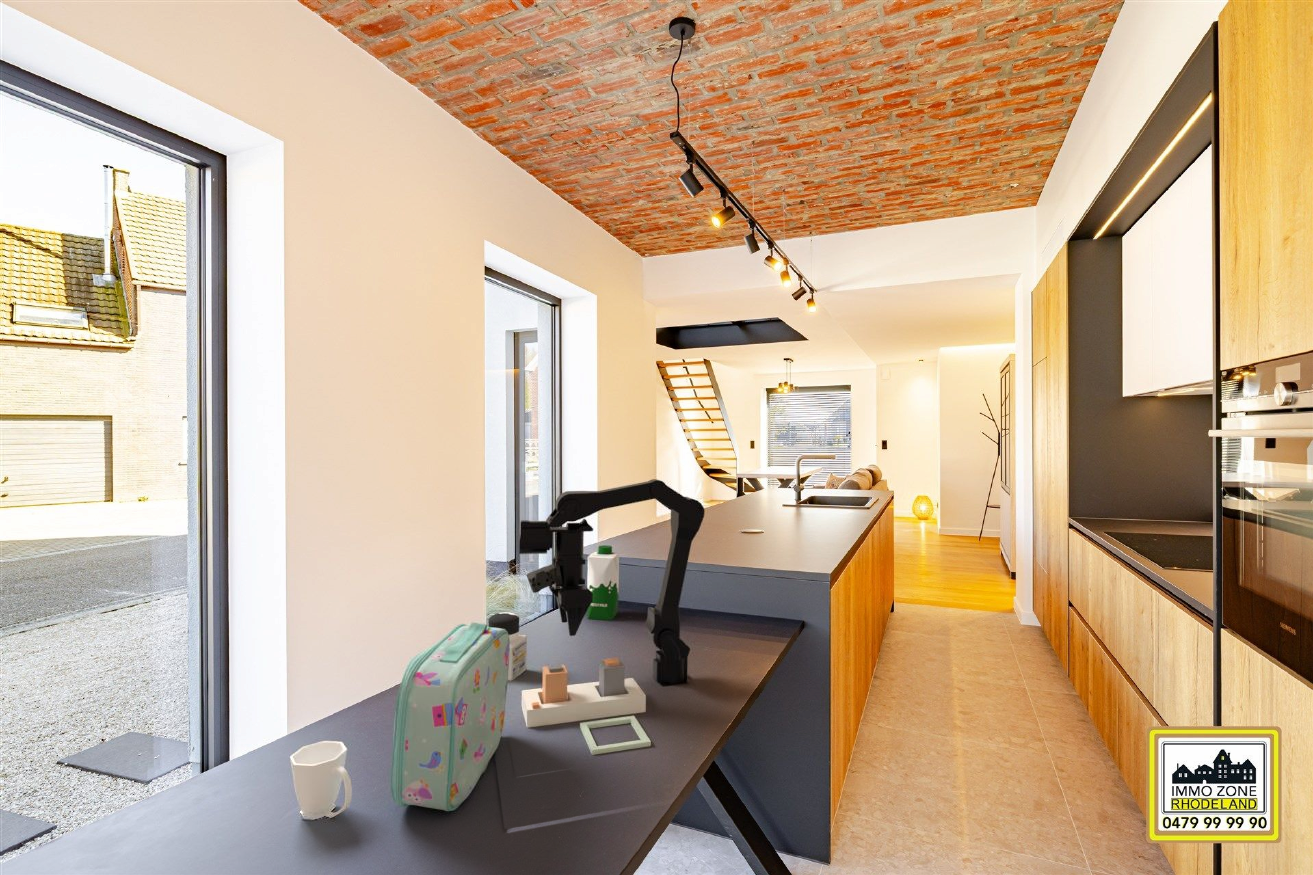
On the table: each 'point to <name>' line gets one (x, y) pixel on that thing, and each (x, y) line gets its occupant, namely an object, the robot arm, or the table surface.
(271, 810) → the table surface
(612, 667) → the twin plug
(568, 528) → the robot arm
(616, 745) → the tray
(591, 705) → the outlet strip
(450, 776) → the lunch box
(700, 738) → the table surface
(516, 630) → the container
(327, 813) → the cup
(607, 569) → the milk carton
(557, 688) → the plug
